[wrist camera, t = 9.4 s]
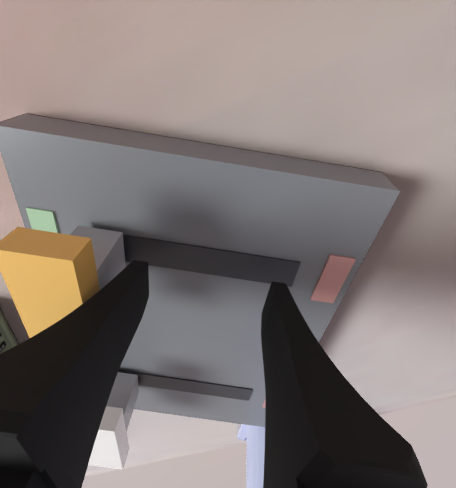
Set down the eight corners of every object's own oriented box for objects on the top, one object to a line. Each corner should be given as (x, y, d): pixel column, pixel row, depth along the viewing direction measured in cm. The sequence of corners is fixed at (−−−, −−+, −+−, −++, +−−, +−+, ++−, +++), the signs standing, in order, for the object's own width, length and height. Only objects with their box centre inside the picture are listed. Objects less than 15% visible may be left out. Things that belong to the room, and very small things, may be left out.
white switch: (139, 360, 19) (114, 431, 15) (142, 404, 22) (122, 469, 19) (102, 355, 19) (69, 425, 15) (111, 399, 22) (86, 464, 19)
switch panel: (381, 172, 13) (401, 192, 11) (271, 403, 26) (272, 429, 24) (25, 113, 13) (-11, 125, 11) (93, 378, 25) (81, 403, 24)
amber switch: (124, 197, 12) (72, 260, 8) (132, 297, 15) (97, 370, 12) (66, 188, 12) (-10, 248, 8) (87, 290, 15) (40, 362, 12)
